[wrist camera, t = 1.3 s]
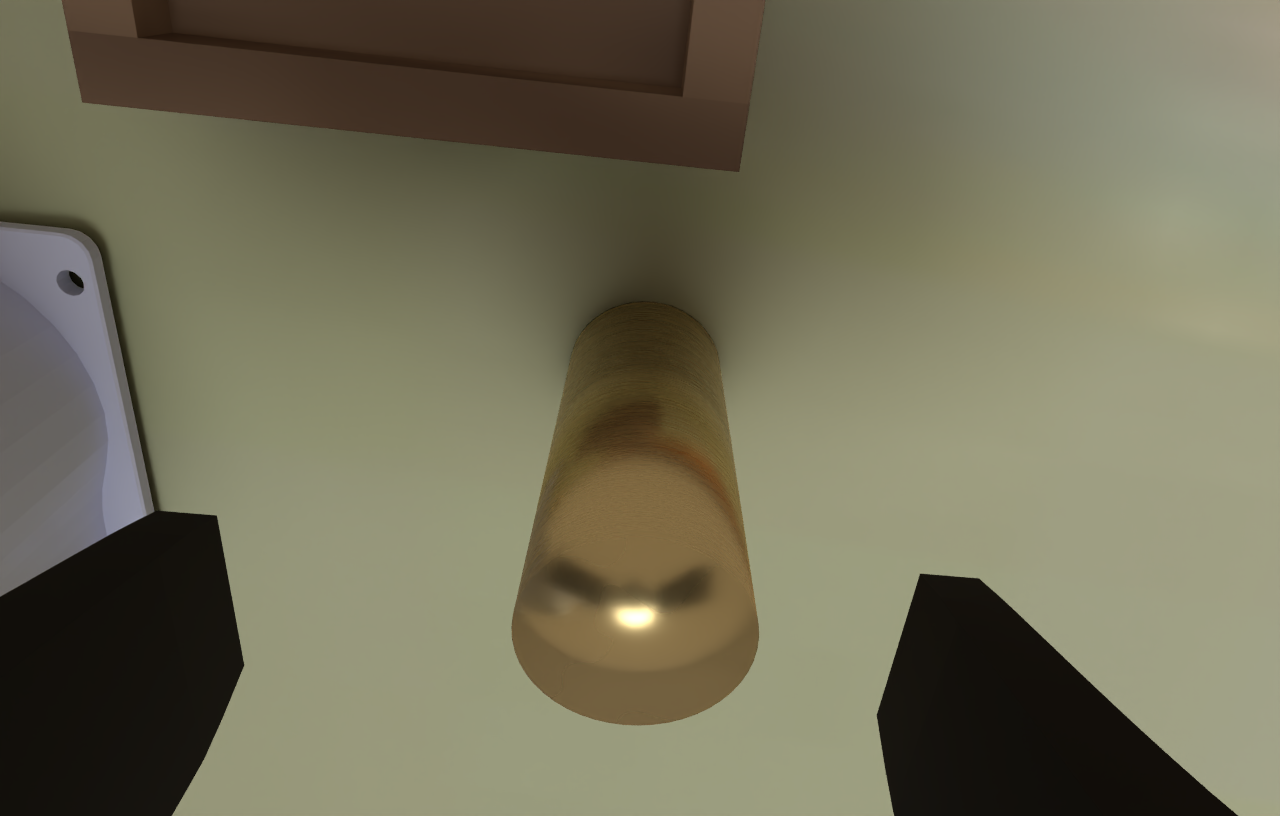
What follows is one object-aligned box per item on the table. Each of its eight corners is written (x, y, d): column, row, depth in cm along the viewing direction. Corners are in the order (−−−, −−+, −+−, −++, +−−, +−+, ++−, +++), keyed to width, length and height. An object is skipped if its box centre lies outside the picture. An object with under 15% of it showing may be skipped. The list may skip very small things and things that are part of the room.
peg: (708, 443, 19) (738, 734, 12) (565, 430, 19) (508, 714, 12) (730, 310, 17) (779, 550, 10) (574, 293, 17) (515, 526, 10)
